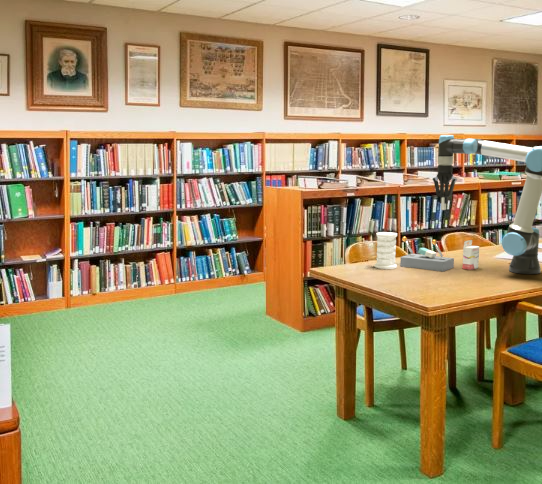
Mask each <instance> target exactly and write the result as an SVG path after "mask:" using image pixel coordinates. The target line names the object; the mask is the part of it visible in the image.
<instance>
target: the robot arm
mask: <svg viewBox="0 0 542 484" xmlns="http://www.w3.org/2000/svg"><path fill="white" fill-rule="evenodd" d="M454 154H463V155H464V154H467V155H471V154H475V155H482V156H488V157H494V158H499V159H505V160H510V161H511V160H512V161H517V162H523V163H525V165H526V166H525V170H524V173H525V175H526V178H525V180H524V181H525V182H524V184H523V188H522V192H521V195H520V199H519V203H518V206H517V209H516V213H515V215H514V220H513V222H512V223H511V224H509V226H508V230H507V233H505V235H504V236H503V237H502V240H501V247H502V249H503V251H505V253H507V254H508V255H509V256H512V258H511V261H510V263H509V266H508V271H509V272H511V273H514V274H522V275H538V274H541V269H542V268H541V265H540V261H539V240H540V229H539V228H537V227H533V224H534V220H535V218H536V217H535V216H536V213H537V211H538V206H539V203H540V200H541V196H542V145H539V146H537V145H535V146H533V147H532V146H531V147H530V146H525V145H519V144H518V145H517V144H511V143H510V144H509V143H505V142H498V141H497V142H496V141H491V140H484V139H480V138H455V136H454V134H441V135H439V138H438V156H437V157H438V158H437V164H438V165H437V174H436V176H435V177H433V178H432V181H433V183H434V189H435V195H436V196H437V197H439V203H440V204H441V205H440V210H441V211H445V210H447V204H448V202H449V200H448V199H449V197H452V196H453V192H454V188H455V185H456V183H457V181H458V178H456V177H454V174H453V169H454V168H453V164H454ZM450 181H451V183H450Z"/></svg>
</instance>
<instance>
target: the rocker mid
mask: <svg viewBox="0 0 542 484" xmlns="http://www.w3.org/2000/svg"><path fill="white" fill-rule="evenodd" d="M437 253H438V252H435V251H433V250H431V249H428V248H426V247H420V248H419V249H418V252H417V254H420V255H425V256H427V257H430V258H434V257H436V256H437Z"/></svg>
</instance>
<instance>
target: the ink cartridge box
mask: <svg viewBox="0 0 542 484" xmlns="http://www.w3.org/2000/svg"><path fill="white" fill-rule="evenodd" d="M472 244H473V240H472V239H470V240H465V241H464V242H463V248H462V249H463V250H462V252H463V254H462V270H467V271H471V270H472V271H473V270H475V269H478V268H479V259H480V246H478V245H472Z"/></svg>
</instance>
